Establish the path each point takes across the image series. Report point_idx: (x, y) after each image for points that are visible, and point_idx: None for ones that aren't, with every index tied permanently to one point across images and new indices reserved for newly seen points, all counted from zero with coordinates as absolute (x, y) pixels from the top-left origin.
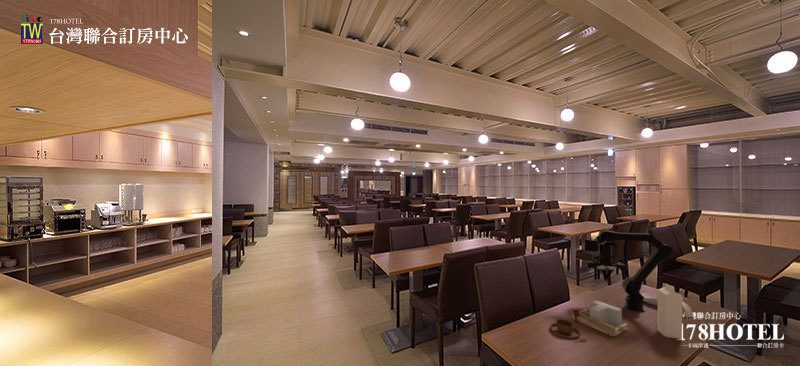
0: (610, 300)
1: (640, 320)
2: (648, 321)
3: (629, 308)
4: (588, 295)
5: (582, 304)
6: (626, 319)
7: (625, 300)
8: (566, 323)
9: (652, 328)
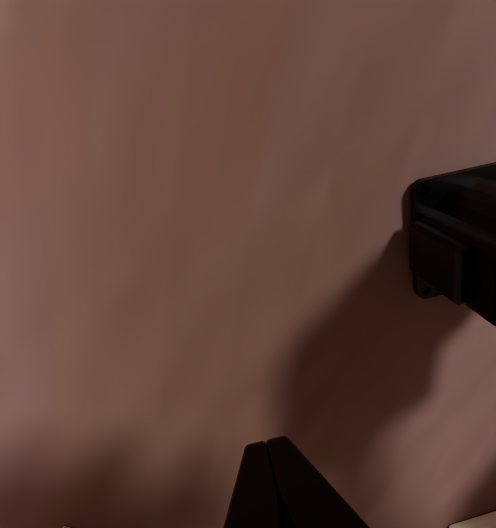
0: (301, 86)
1: (411, 446)
2: (457, 434)
3: (418, 282)
4: (43, 13)
5: (6, 375)
6: None
7: (439, 246)
8: None
9: (433, 516)
